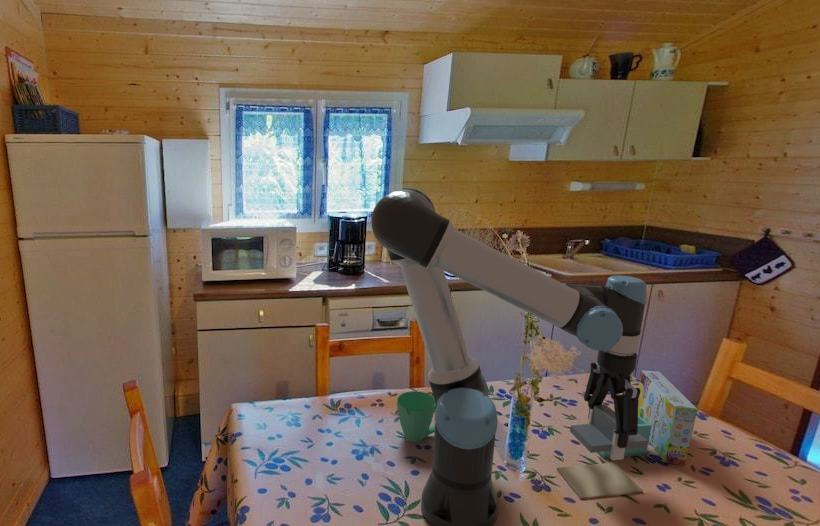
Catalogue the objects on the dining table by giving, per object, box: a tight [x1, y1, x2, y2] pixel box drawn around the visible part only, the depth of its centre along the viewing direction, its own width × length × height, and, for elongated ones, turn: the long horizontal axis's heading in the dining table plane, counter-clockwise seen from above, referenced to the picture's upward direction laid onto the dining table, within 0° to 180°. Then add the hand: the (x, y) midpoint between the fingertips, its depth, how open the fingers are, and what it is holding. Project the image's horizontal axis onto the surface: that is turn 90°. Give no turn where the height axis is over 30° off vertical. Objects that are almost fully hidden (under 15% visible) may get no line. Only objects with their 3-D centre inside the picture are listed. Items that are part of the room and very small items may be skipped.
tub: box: [596, 415, 651, 459], centre depth 117 cm, size 12×6×8 cm, turn 102°
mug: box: [396, 390, 436, 443], centre depth 118 cm, size 15×10×10 cm
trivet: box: [556, 461, 644, 500], centre depth 105 cm, size 15×10×1 cm, turn 102°
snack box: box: [637, 369, 698, 466], centre depth 121 cm, size 21×6×15 cm, turn 175°
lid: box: [569, 404, 649, 454], centre depth 102 cm, size 14×8×7 cm, turn 103°
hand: (604, 446), depth 103 cm, fingers closed on lid, 8 cm apart
